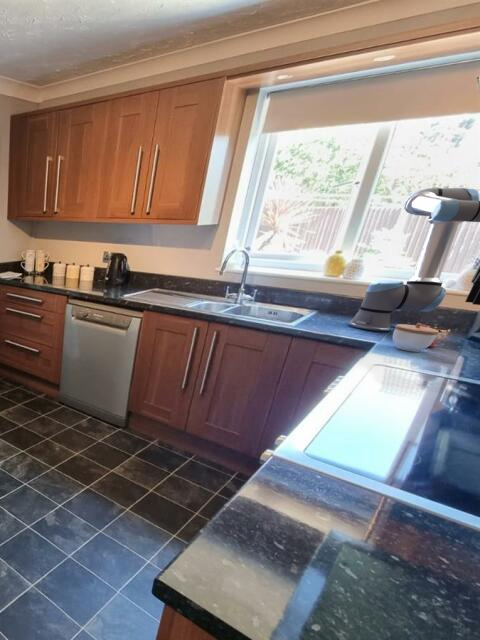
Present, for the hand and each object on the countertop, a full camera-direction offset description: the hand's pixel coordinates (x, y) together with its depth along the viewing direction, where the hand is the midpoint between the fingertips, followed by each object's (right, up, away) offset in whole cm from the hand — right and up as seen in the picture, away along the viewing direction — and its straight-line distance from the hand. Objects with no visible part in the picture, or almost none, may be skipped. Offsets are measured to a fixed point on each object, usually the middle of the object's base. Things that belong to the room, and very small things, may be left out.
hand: (473, 303), depth 163 cm
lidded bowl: (-12, -17, +13) cm, 24 cm away
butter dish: (+1, -14, +23) cm, 27 cm away
